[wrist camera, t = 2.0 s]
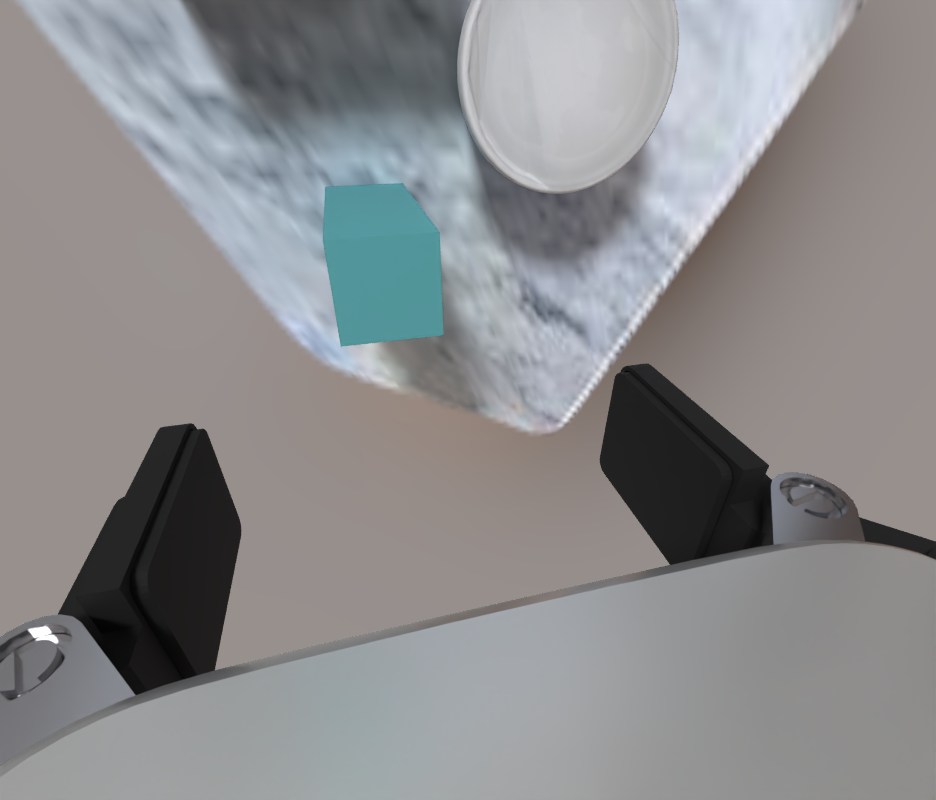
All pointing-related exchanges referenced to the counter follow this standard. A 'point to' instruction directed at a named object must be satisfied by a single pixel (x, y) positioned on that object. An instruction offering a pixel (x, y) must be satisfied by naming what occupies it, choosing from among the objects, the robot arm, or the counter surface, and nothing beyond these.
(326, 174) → the counter surface
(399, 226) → the peg
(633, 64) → the ramekin
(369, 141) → the counter surface
